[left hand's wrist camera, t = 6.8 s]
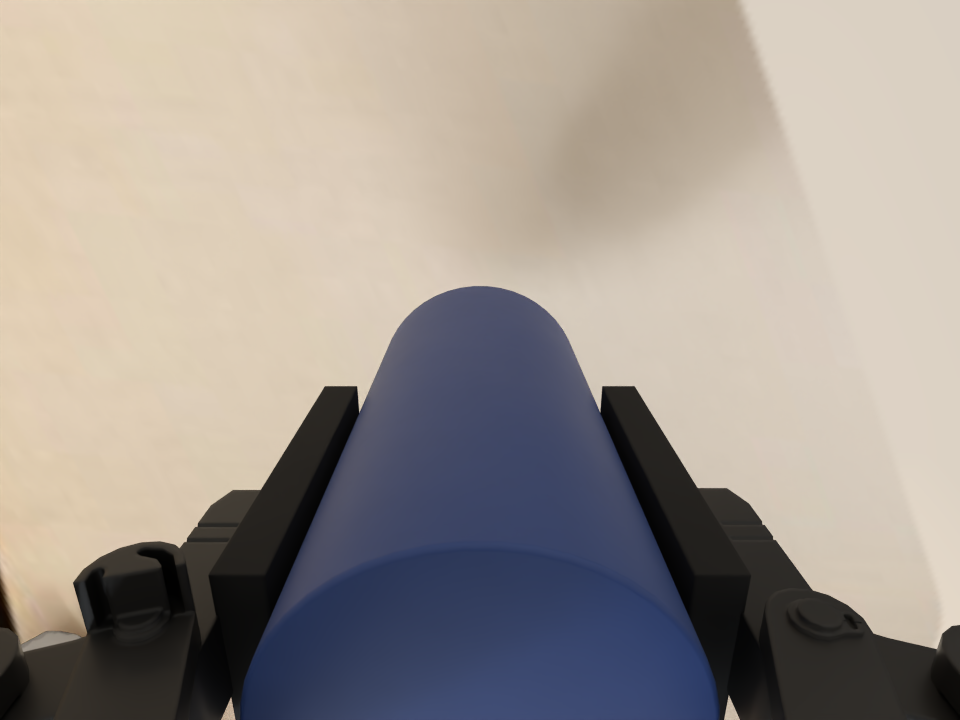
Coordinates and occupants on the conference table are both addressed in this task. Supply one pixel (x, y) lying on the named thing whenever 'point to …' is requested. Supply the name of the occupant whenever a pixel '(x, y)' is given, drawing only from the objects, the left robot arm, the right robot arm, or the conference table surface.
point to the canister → (479, 547)
